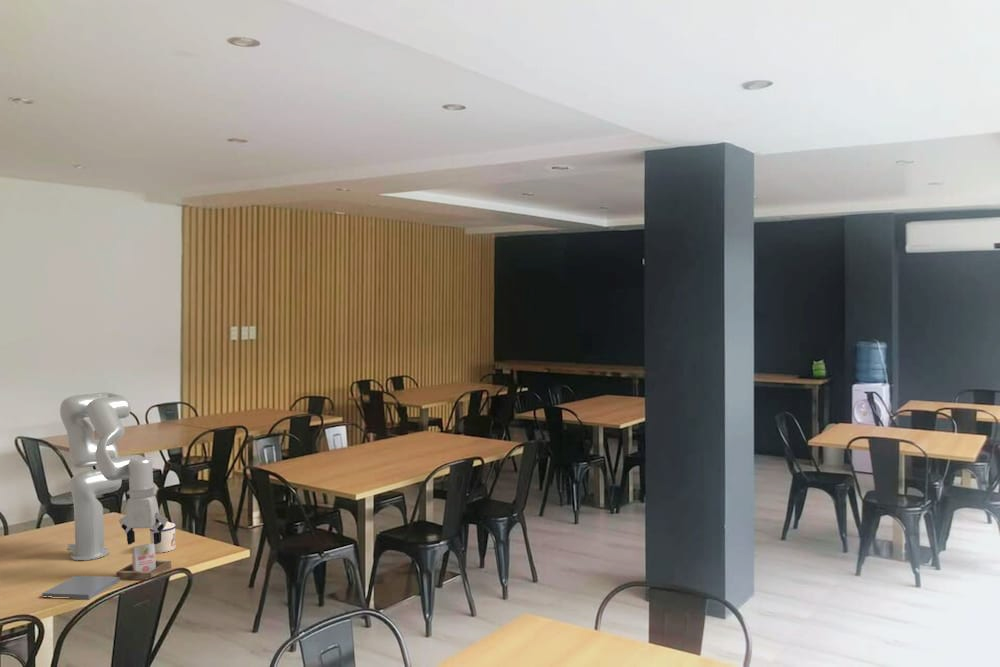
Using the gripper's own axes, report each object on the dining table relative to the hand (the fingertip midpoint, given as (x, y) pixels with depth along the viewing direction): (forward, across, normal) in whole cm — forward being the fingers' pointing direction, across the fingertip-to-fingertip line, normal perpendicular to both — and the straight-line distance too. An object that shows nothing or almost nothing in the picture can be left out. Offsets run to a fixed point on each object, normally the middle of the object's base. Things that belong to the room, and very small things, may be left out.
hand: (144, 543), depth 270 cm
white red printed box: (+11, -1, 0) cm, 11 cm away
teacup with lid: (+10, -10, +28) cm, 31 cm away
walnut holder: (+11, -1, 0) cm, 11 cm away
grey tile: (+11, -13, -16) cm, 23 cm away
